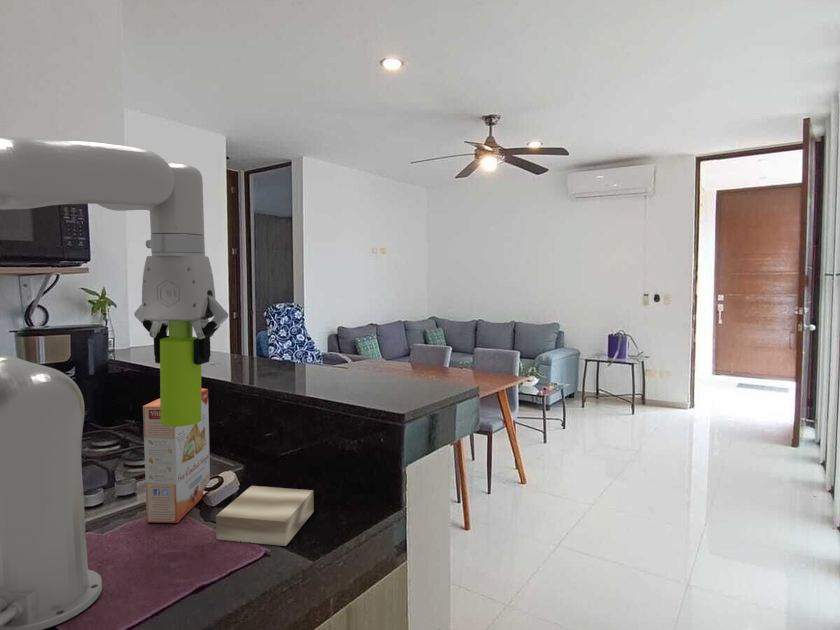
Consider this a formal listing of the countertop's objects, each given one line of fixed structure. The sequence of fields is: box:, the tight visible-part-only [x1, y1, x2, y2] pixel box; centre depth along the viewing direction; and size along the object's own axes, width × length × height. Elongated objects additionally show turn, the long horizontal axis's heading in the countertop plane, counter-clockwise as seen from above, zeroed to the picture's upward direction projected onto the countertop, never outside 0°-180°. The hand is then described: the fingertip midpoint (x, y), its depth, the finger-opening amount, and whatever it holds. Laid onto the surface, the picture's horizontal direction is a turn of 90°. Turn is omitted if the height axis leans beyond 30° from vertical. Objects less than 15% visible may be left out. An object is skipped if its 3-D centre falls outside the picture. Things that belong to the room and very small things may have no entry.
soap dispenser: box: [159, 321, 202, 427], centre depth 83 cm, size 6×7×20 cm
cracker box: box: [142, 387, 211, 524], centre depth 97 cm, size 14×6×21 cm, turn 179°
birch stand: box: [215, 485, 315, 547], centre depth 91 cm, size 12×12×4 cm
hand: (182, 361), depth 83 cm, fingers closed on soap dispenser, 6 cm apart
